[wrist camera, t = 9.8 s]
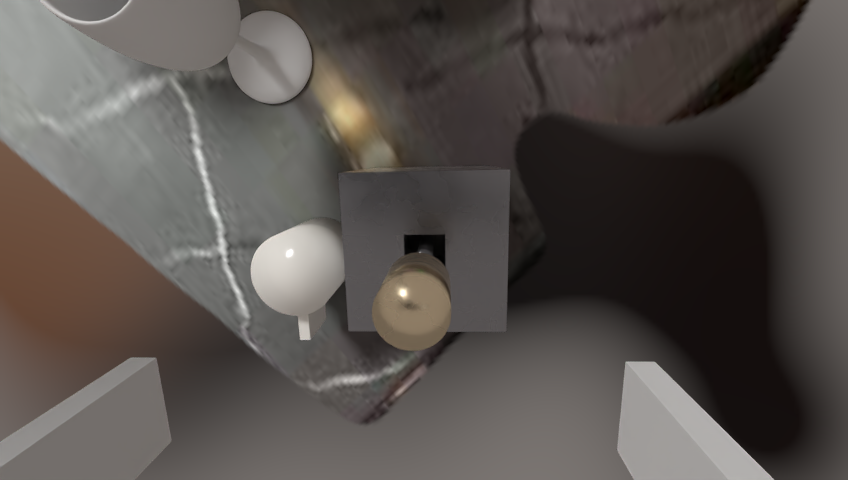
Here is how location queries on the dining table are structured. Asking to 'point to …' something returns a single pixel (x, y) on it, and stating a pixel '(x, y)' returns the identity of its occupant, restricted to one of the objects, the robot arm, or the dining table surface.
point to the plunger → (415, 296)
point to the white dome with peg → (301, 271)
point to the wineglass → (200, 39)
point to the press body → (429, 215)
